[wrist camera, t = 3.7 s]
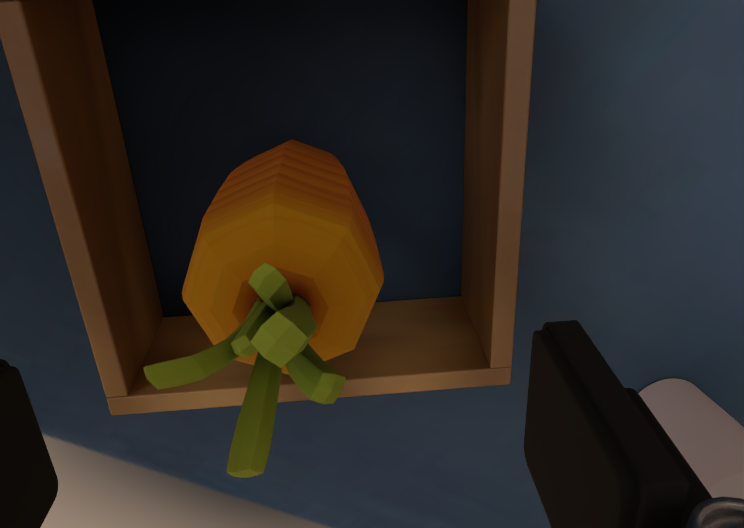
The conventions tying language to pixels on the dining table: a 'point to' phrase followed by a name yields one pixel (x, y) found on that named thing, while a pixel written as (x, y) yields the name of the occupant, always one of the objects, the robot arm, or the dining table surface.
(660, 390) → the smoothie
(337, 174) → the carrot
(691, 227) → the dining table surface
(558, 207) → the dining table surface
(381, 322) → the wooden frame
